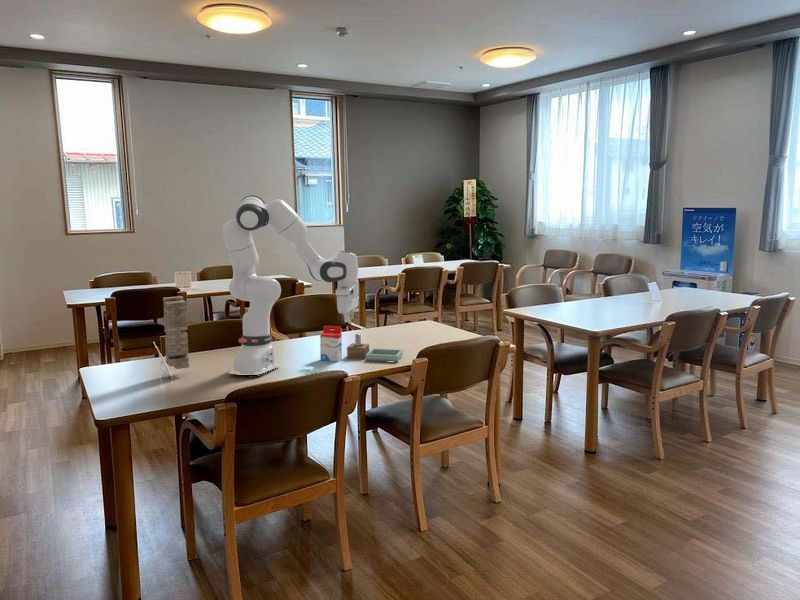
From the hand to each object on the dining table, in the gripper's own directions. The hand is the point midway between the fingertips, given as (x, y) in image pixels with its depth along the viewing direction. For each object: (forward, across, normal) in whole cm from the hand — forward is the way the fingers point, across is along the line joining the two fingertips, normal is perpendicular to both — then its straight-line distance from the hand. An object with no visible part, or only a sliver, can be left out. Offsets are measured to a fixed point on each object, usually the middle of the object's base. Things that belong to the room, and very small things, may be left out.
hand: (348, 320), depth 262 cm
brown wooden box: (+17, -6, +2) cm, 19 cm away
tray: (+17, -4, +15) cm, 23 cm away
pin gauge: (+17, -6, +2) cm, 19 cm away
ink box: (+18, +2, -8) cm, 19 cm away
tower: (+17, +26, -67) cm, 74 cm away
